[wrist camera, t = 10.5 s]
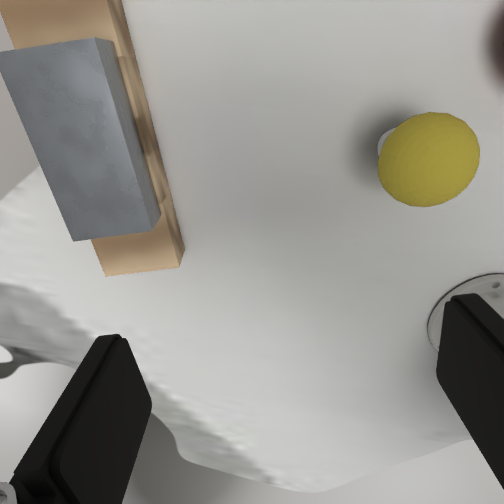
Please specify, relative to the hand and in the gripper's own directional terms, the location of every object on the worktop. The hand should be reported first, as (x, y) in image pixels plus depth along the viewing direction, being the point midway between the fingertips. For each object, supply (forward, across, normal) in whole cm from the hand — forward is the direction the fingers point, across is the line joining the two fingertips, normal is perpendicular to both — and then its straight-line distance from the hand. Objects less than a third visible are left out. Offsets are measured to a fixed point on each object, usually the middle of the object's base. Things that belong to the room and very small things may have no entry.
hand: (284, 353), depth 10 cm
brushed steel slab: (+23, +13, -5) cm, 27 cm away
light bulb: (+25, -12, 0) cm, 27 cm away
